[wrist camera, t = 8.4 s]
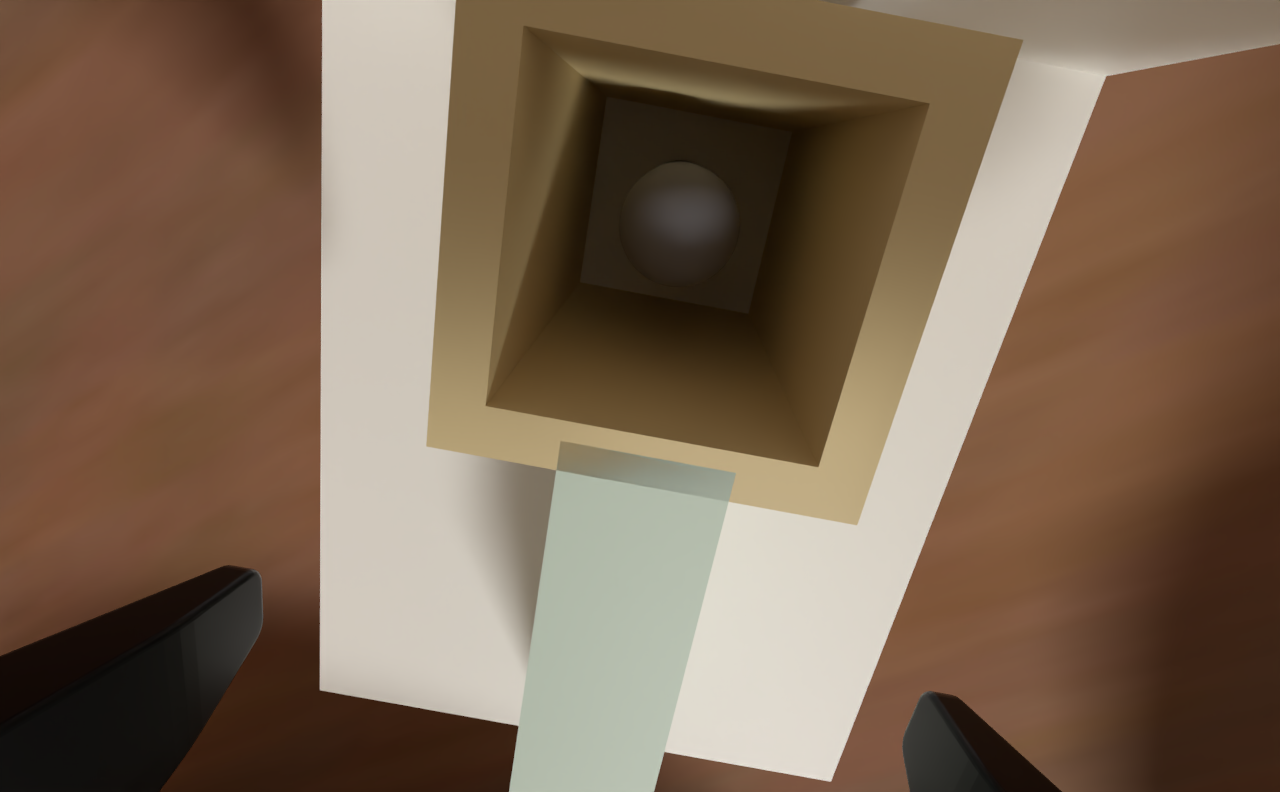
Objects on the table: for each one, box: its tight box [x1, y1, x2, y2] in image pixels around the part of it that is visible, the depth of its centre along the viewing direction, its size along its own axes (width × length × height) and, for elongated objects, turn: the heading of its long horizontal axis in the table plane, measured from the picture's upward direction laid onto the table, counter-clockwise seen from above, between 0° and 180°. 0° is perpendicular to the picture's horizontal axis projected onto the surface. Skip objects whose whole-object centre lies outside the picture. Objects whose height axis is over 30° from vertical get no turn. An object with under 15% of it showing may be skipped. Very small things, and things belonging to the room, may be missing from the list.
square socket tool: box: [426, 0, 1023, 792], centre depth 10 cm, size 14×4×6 cm, turn 170°
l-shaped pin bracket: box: [320, 0, 1280, 782], centre depth 10 cm, size 17×12×8 cm
